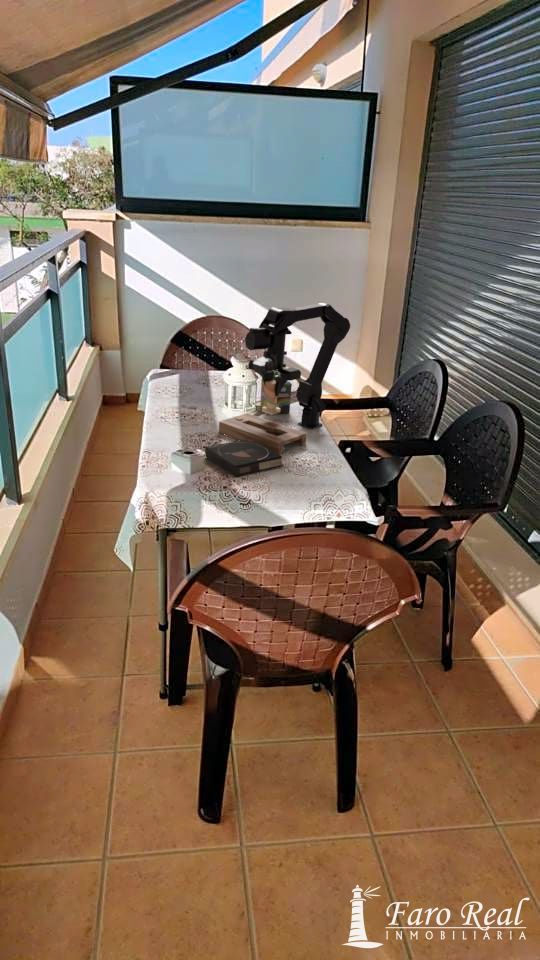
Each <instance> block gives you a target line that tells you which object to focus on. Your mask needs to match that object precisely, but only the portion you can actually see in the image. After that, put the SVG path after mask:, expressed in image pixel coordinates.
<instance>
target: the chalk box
mask: <svg viewBox="0 0 540 960" xmlns="http://www.w3.org/2000/svg"><path fill="white" fill-rule="evenodd" d="M277 376H278V373H275V372H274V375H273V380H275V379H274V377H277ZM260 383H261V384H260V409H262V407H265V406H266V404H267V397H266V396H265V385H264V382H263V379H262V378H261V382H260ZM292 385H293V384H292V383H291V382H290V381H288V380H287V382H286V383H285V385H284V386H283V388H282V390H281V392H280V397H277V406H276V407H278V408H280V413H276V414H275V415H278V414H279V415H280V414H281V415H282V414H290V410H291V409H290V408H291V399H292V398H291V397H292V387H293V386H292ZM266 415H269V414H268V413H266Z"/></svg>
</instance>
